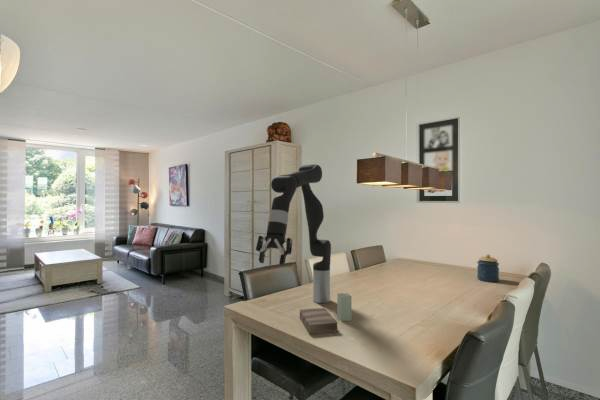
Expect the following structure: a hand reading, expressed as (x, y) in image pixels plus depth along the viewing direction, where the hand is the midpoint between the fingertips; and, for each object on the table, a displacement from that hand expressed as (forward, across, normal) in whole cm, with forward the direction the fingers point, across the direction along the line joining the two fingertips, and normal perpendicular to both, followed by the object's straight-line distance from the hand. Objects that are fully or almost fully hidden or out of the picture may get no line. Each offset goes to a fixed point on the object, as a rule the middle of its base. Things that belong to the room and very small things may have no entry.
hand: (271, 264), depth 118 cm
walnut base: (+21, -11, -32) cm, 40 cm away
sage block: (+18, -20, -42) cm, 50 cm away
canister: (-17, -94, -144) cm, 173 cm away
